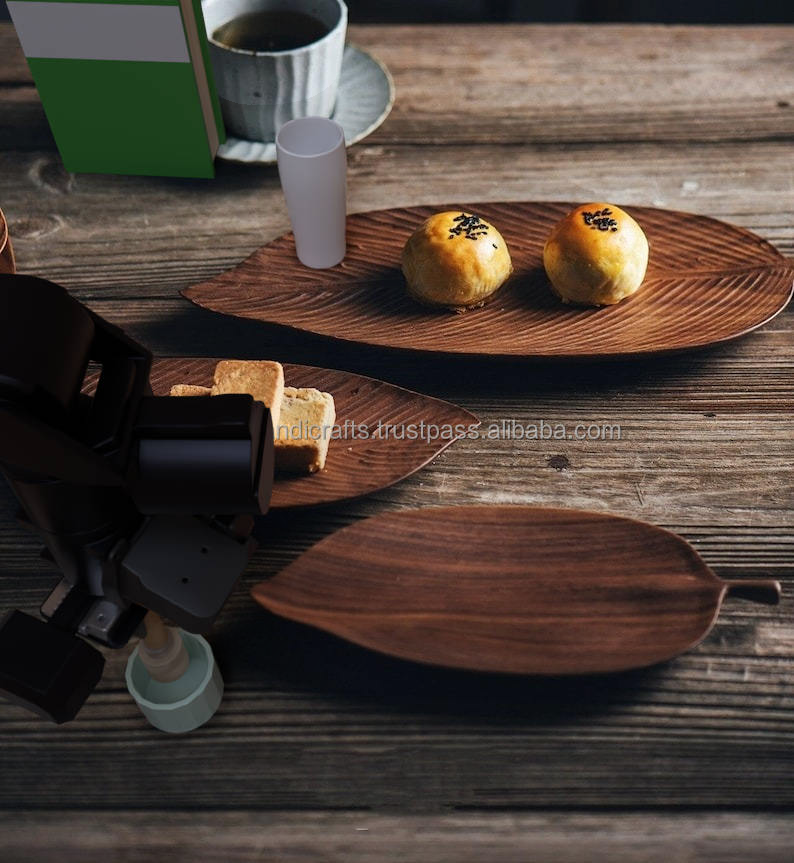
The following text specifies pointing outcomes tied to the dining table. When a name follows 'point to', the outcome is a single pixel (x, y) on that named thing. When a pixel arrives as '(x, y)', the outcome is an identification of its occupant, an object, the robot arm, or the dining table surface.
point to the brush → (162, 650)
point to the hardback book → (124, 84)
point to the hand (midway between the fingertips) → (147, 622)
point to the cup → (179, 688)
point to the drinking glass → (314, 187)
